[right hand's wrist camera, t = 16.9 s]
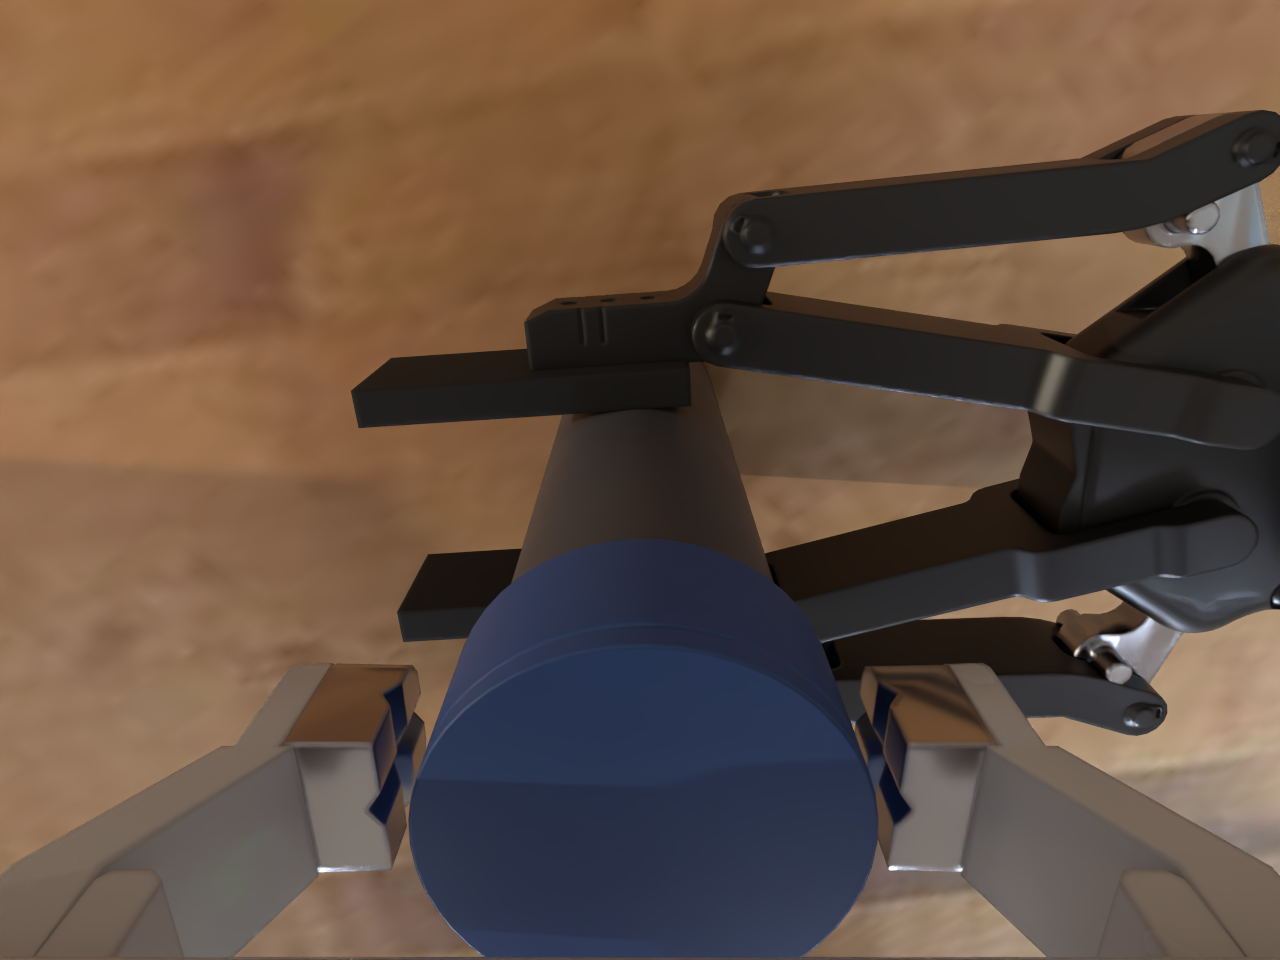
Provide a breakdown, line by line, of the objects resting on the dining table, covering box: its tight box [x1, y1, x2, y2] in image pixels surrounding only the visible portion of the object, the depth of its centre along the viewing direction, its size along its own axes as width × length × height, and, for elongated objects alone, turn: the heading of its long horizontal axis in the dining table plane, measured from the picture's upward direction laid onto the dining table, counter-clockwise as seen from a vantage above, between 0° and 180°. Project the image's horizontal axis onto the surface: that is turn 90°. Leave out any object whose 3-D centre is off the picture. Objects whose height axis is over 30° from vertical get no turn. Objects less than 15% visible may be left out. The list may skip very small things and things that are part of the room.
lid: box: [409, 539, 879, 957], centre depth 9 cm, size 5×5×2 cm
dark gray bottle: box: [511, 362, 774, 584], centre depth 16 cm, size 4×4×16 cm
